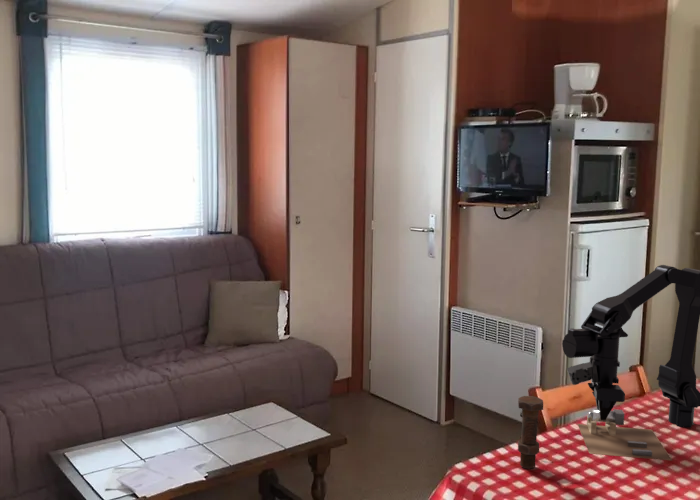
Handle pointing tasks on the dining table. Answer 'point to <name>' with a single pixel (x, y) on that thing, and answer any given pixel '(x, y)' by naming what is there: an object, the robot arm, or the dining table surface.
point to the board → (622, 442)
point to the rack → (592, 425)
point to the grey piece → (613, 416)
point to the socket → (638, 451)
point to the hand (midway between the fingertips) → (601, 417)
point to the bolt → (529, 430)
